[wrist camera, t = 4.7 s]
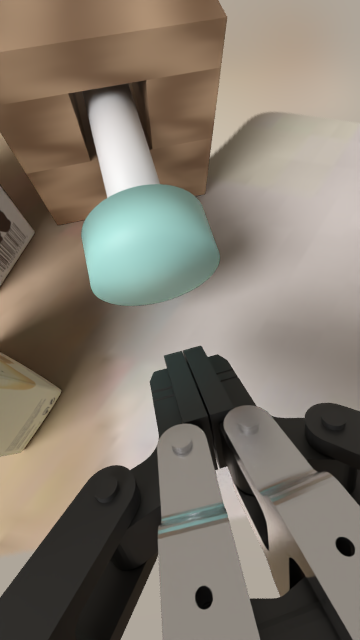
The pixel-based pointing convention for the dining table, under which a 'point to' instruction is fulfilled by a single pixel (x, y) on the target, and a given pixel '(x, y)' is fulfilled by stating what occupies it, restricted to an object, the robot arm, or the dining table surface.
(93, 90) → the knob
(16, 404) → the skincare box
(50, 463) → the dining table surface
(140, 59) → the mount
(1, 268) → the coffee box
